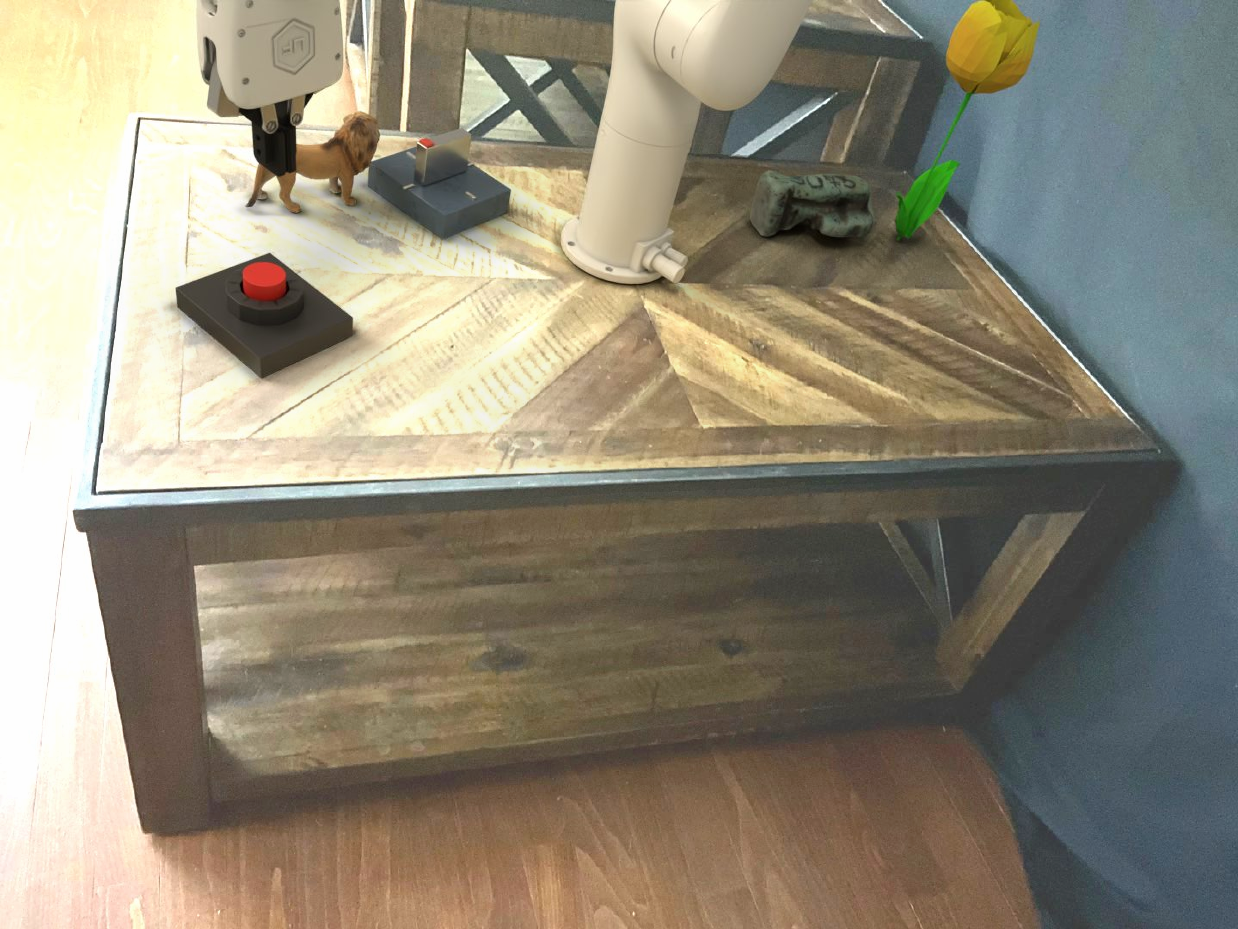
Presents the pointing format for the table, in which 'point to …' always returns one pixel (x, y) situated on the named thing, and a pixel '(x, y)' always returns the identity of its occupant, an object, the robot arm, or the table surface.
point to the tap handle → (442, 156)
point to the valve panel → (439, 194)
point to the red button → (264, 281)
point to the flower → (972, 88)
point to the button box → (264, 318)
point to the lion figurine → (328, 161)
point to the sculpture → (813, 204)
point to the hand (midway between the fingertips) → (275, 166)
